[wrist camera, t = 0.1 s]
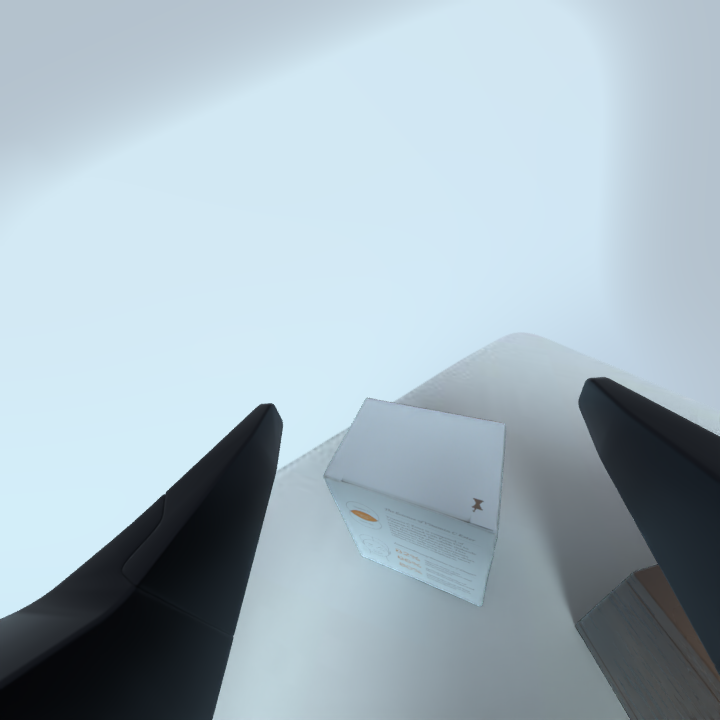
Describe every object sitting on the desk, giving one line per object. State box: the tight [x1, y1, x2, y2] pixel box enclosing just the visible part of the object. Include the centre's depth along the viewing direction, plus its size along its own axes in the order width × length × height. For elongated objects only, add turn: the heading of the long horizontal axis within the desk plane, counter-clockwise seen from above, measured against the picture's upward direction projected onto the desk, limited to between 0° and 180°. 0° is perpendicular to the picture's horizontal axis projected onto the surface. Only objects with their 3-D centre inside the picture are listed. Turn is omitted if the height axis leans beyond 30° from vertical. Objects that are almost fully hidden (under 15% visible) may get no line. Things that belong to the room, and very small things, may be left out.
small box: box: [323, 398, 506, 606], centre depth 18 cm, size 8×6×10 cm
